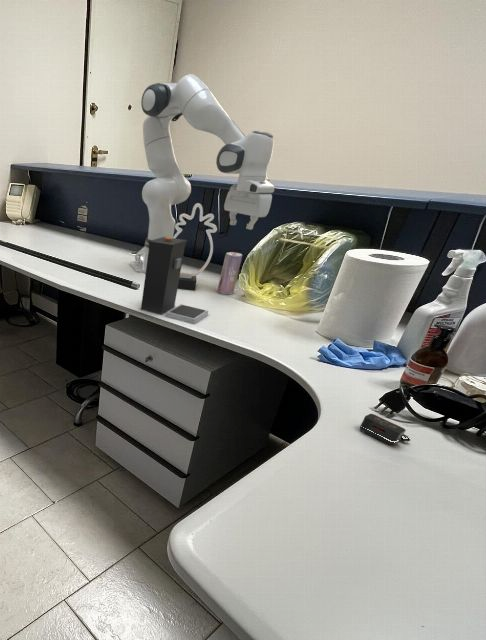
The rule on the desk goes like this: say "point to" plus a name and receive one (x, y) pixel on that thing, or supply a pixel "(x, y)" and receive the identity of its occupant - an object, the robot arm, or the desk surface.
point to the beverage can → (229, 272)
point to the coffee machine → (166, 280)
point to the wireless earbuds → (383, 429)
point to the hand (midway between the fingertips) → (240, 227)
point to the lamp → (190, 279)
